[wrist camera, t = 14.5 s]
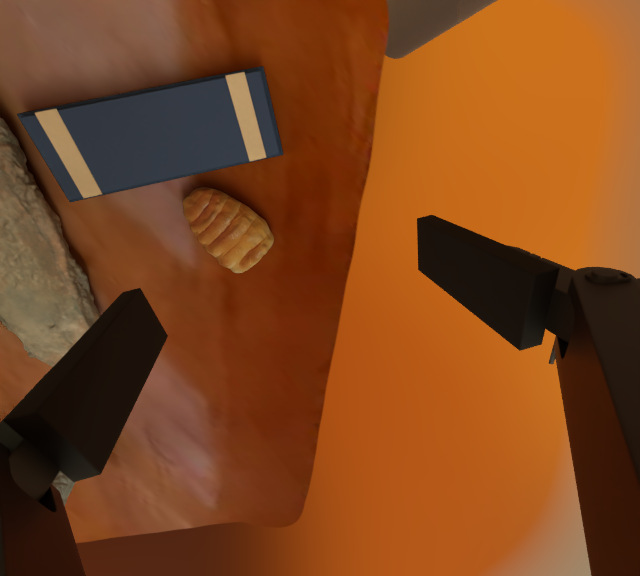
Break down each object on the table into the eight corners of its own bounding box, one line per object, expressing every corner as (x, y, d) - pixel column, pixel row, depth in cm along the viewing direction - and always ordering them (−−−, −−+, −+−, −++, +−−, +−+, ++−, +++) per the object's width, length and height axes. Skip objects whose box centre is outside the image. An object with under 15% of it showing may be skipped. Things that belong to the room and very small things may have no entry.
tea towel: (262, 70, 26) (263, 63, 23) (282, 154, 29) (284, 154, 27) (31, 115, 24) (8, 112, 22) (80, 199, 27) (64, 204, 25)
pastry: (170, 215, 29) (159, 223, 26) (214, 168, 28) (209, 171, 25) (240, 272, 34) (238, 286, 30) (280, 234, 33) (283, 243, 29)
